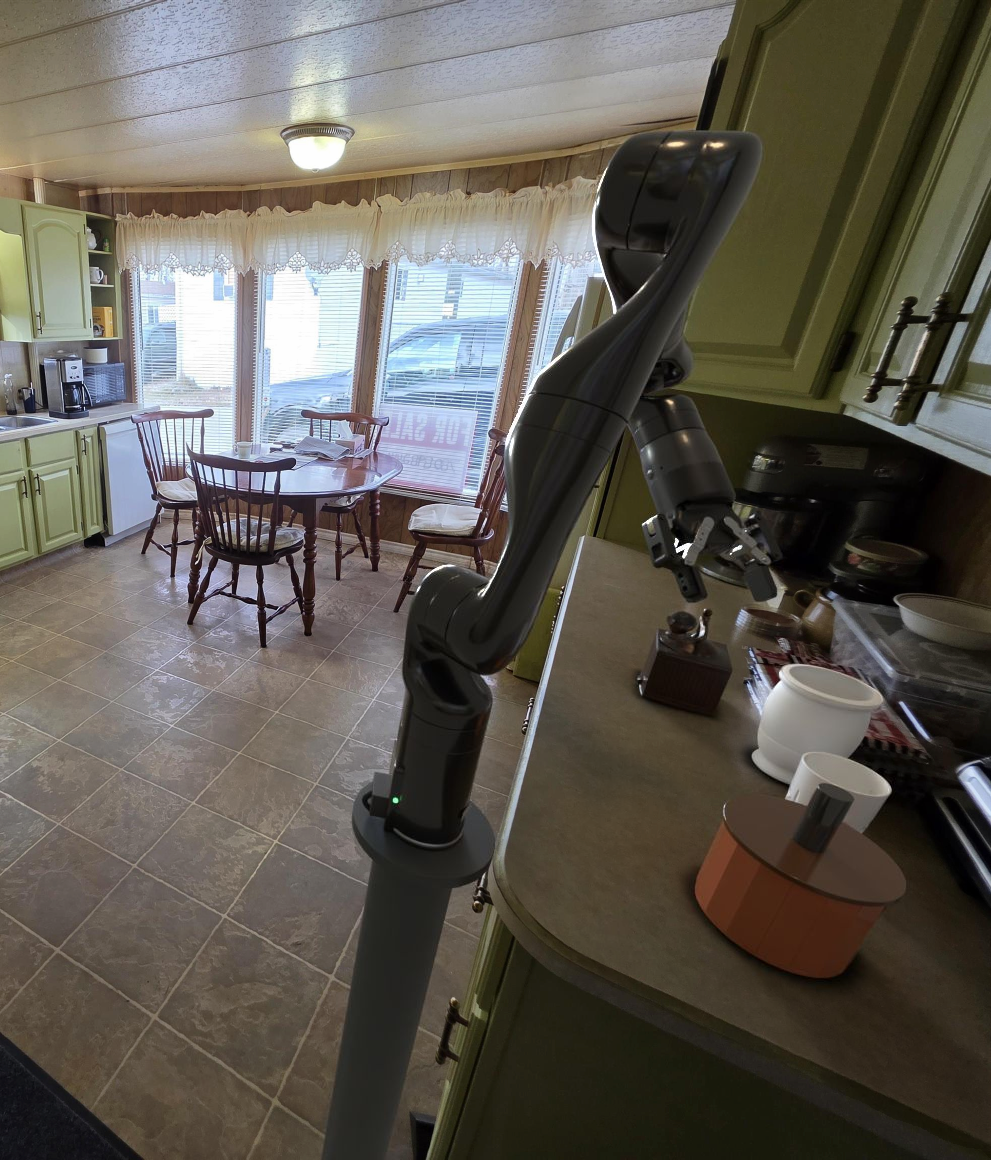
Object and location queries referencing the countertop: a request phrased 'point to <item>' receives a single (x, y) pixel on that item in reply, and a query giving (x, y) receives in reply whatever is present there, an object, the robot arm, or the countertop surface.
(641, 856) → the countertop surface
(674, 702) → the manual coffee grinder
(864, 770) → the white cup
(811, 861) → the lid
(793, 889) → the crock
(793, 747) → the jar
